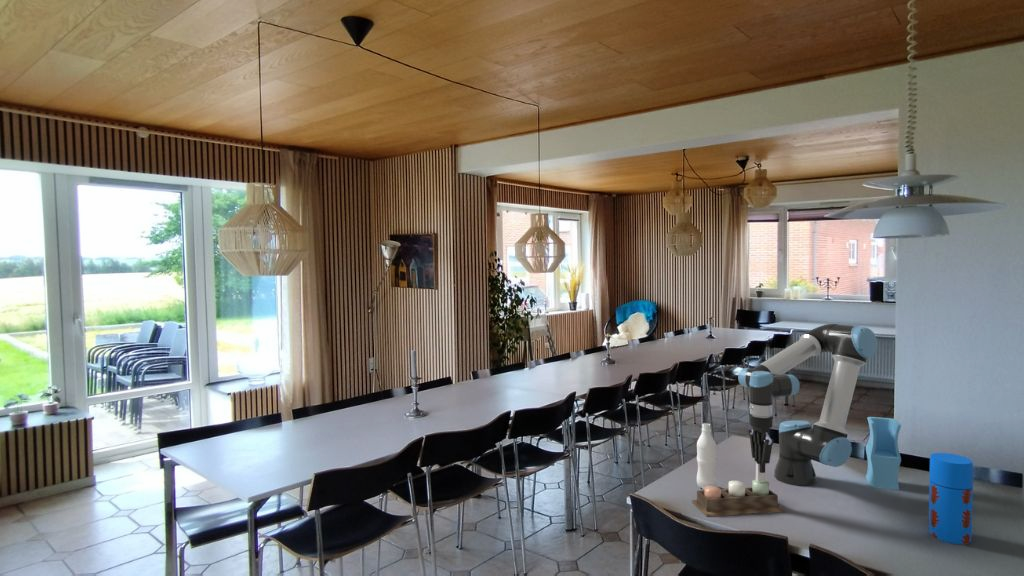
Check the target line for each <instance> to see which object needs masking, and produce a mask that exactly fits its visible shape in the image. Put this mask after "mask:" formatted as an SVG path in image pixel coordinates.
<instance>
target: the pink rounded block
mask: <svg viewBox="0 0 1024 576" xmlns="http://www.w3.org/2000/svg"><path fill="white" fill-rule="evenodd" d="M705 496H706V497H707V498H708V499H712V498H721V488H720V487H718V486H706V487H705Z"/></svg>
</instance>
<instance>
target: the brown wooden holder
mask: <svg viewBox="0 0 1024 576" xmlns="http://www.w3.org/2000/svg"><path fill="white" fill-rule="evenodd" d="M720 489H721V488H720ZM778 497H779V496H778V494H776V493H775V492H773V491H772V490H771V489H769V495H762V496H757V495H755V494H754V493H753V492H752V487H745V497H732V496H730V495H729V488H723V489H721V498H712V499H708V498H707V497H706V496H705V490H703V489H701V490H696V499H692V500H691V503H692V504H693V505H694V506H695V507H696V508H697V509H698V510H699V511H701V513H703V515H704V516H705V517H718V516H719V517H720V516H735V515H736V516H737V515H750V514H751V513H754V514H766V513H767V514H768V513H769V512H770V513H781V512H784V509H783V508H782V507H781V506H780V505H778V504H779V501H778ZM751 515H752V514H751Z"/></svg>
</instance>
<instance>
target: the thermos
mask: <svg viewBox="0 0 1024 576" xmlns="http://www.w3.org/2000/svg"><path fill="white" fill-rule="evenodd" d="M973 485H974V464H973V460H972V459H970V458H968V457H966V456H962V455H959V454H954V453H948V452H946V453H945V452H934V453H930V457H929V489H928V490H929V491H928V492H929V494H928V496H929V497H928V499H929V500H928V526H929V528H928V529H929V534H930V536H931V537H933V538H935V539H937V540H940V541H942V542H945V543H949V544H954V545H967V544H970V543H971V542H972V535H973V533H972V532H973V500H974V499H973V492H974V491H973V490H974V486H973Z"/></svg>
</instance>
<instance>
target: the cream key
mask: <svg viewBox="0 0 1024 576" xmlns="http://www.w3.org/2000/svg"><path fill="white" fill-rule="evenodd" d="M745 488H746V483H745V482H744V481H740V480H730V481H728V489H729V495H730V496H732V497H745Z"/></svg>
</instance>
